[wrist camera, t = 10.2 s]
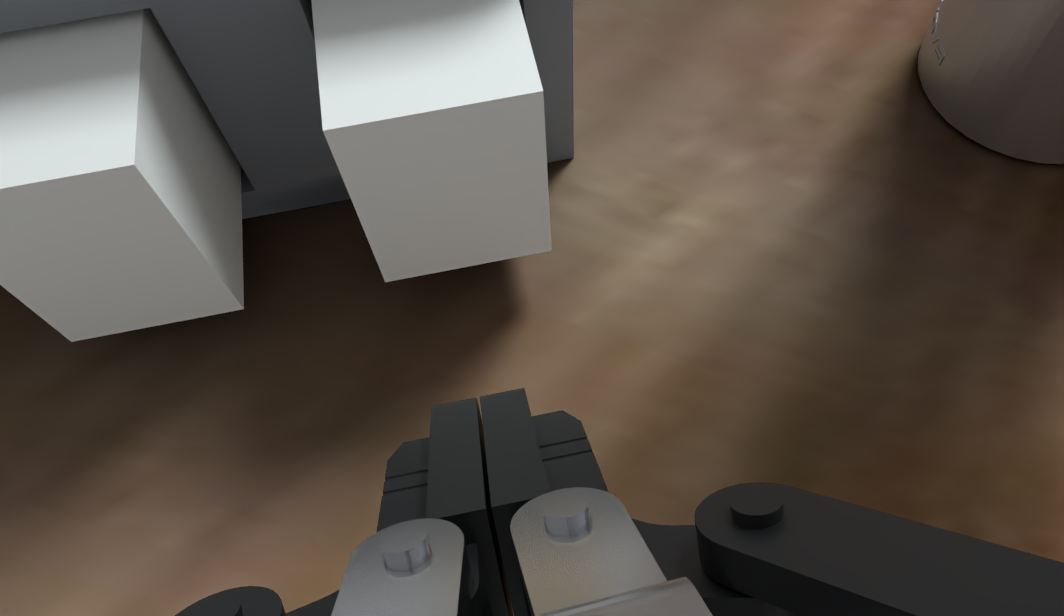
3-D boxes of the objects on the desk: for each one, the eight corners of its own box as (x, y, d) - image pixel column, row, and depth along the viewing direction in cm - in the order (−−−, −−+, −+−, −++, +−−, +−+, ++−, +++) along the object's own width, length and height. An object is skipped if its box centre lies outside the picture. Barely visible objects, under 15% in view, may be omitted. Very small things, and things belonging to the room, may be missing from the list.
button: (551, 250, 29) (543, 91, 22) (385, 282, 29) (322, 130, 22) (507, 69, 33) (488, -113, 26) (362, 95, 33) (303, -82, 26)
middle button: (244, 309, 28) (134, 164, 21) (71, 342, 28) (-98, 206, 21) (239, 117, 33) (147, -56, 26) (89, 144, 32) (-46, -23, 25)
